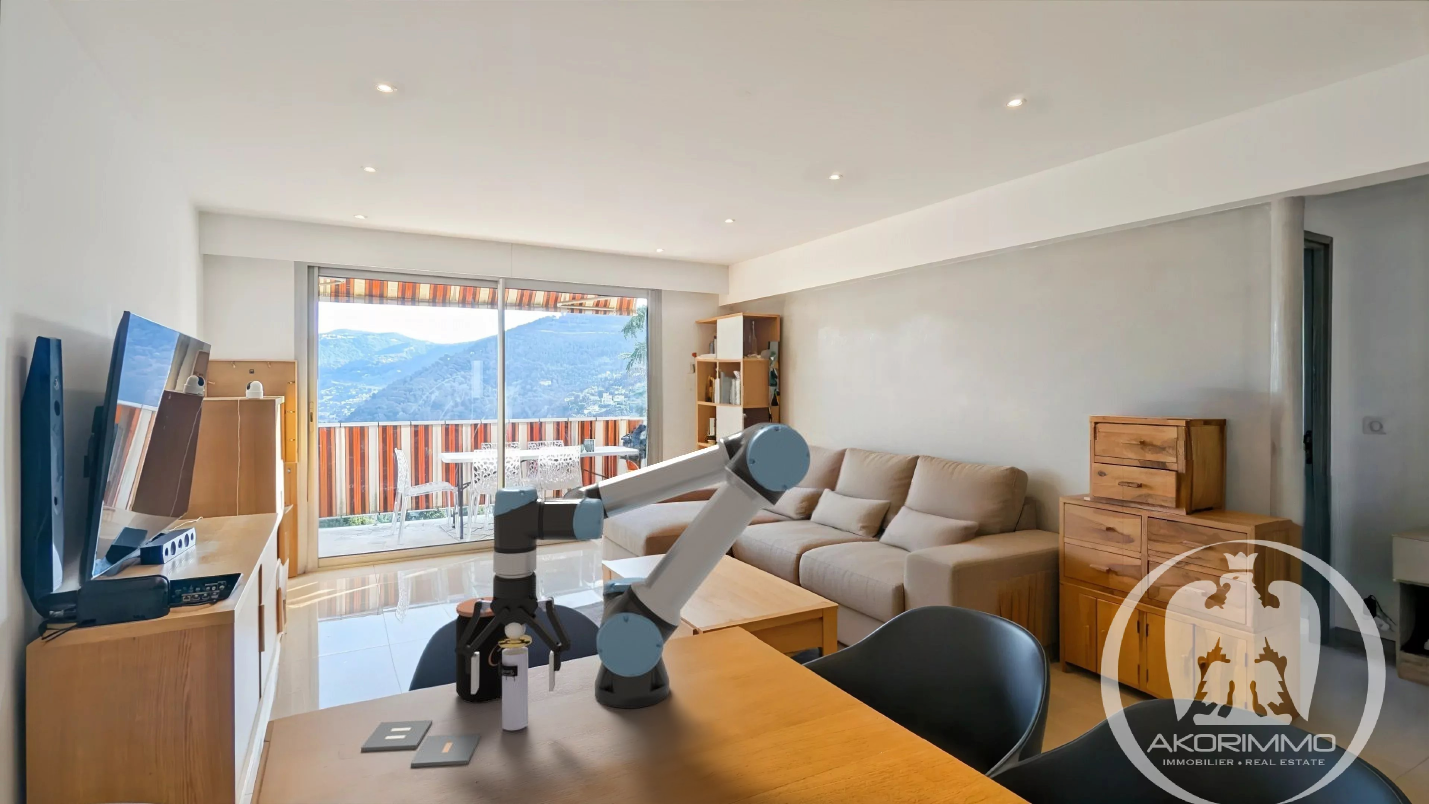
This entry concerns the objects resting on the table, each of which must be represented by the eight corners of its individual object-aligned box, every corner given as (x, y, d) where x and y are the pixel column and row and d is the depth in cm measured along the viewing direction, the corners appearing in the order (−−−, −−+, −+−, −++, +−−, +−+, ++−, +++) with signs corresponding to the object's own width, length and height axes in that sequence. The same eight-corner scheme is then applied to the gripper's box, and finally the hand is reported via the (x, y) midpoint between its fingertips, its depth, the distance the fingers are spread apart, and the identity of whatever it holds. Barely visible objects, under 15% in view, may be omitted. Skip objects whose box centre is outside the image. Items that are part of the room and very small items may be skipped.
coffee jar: (494, 706, 132) (494, 614, 132) (445, 701, 135) (445, 610, 134) (520, 684, 143) (520, 598, 143) (474, 679, 145) (474, 595, 145)
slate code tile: (432, 723, 126) (432, 719, 126) (416, 748, 117) (416, 744, 117) (381, 725, 125) (381, 722, 125) (361, 751, 116) (361, 747, 116)
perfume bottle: (512, 718, 128) (512, 612, 127) (538, 724, 125) (538, 615, 125) (491, 732, 122) (491, 621, 122) (517, 738, 120) (517, 625, 120)
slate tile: (480, 736, 121) (480, 733, 121) (467, 763, 112) (467, 760, 112) (427, 739, 120) (427, 735, 120) (410, 767, 111) (410, 763, 111)
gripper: (586, 566, 129) (585, 678, 129) (449, 568, 126) (448, 683, 126) (583, 577, 121) (581, 696, 121) (437, 579, 118) (436, 701, 119)
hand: (513, 689), depth 124 cm, fingers open, 13 cm apart
